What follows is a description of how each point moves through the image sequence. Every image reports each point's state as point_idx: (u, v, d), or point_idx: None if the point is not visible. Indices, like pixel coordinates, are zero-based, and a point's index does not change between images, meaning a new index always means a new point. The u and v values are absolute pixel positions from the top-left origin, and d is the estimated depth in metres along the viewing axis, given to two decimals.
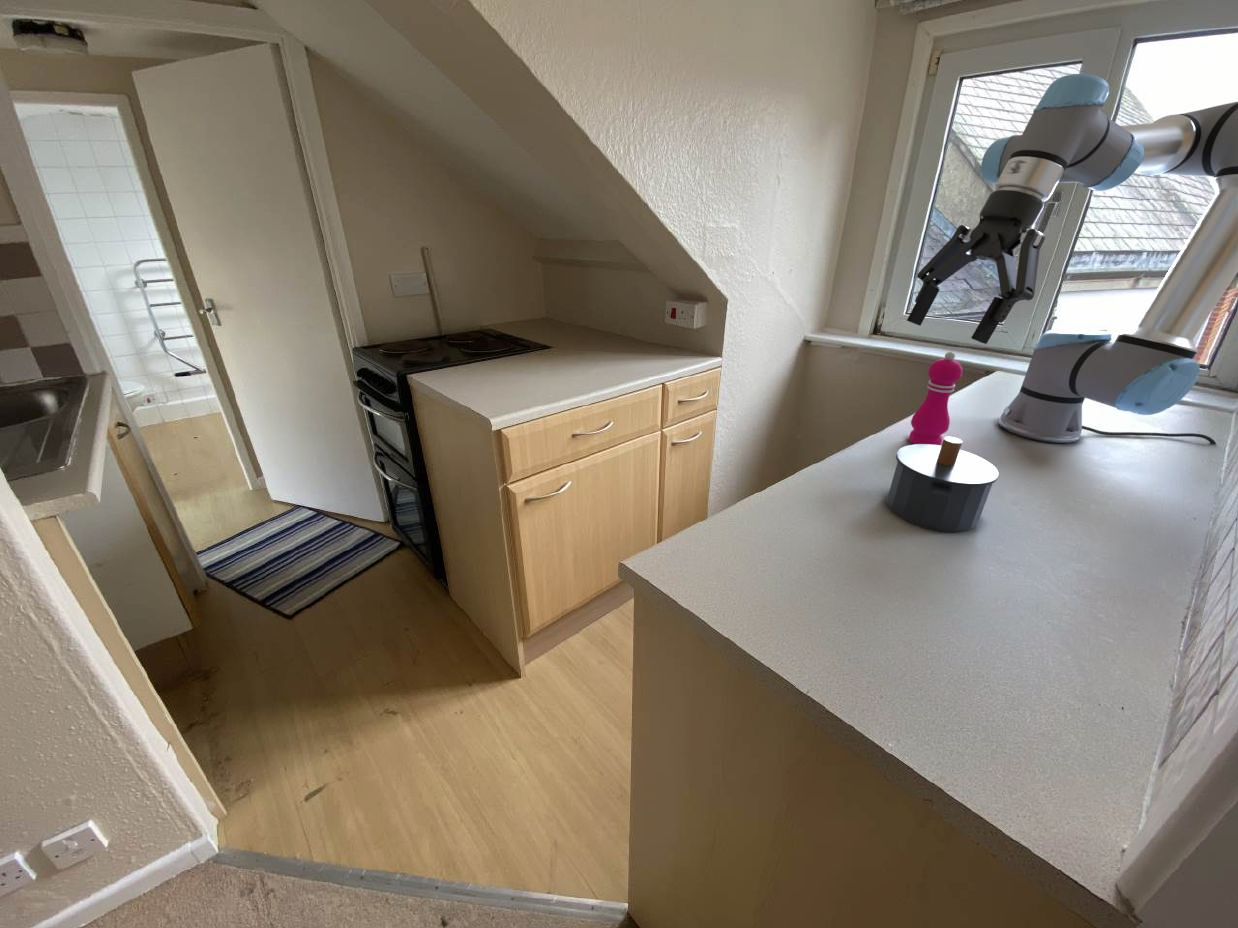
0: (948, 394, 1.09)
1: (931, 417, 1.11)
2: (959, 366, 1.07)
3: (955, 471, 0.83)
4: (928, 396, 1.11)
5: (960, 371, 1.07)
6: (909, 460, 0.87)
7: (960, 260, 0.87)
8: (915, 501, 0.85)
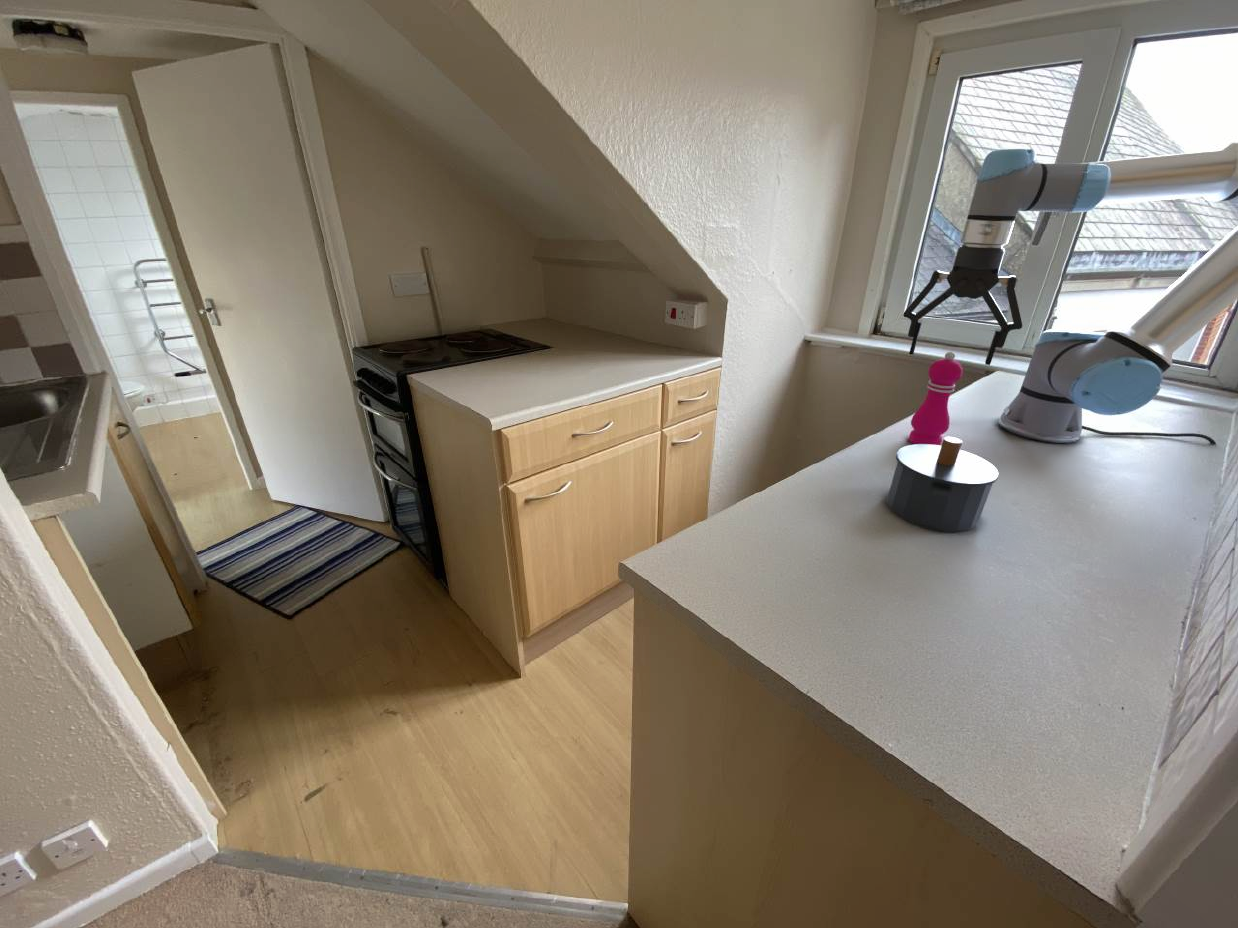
0: (948, 394, 1.09)
1: (931, 417, 1.11)
2: (959, 366, 1.07)
3: (955, 471, 0.83)
4: (928, 396, 1.11)
5: (960, 371, 1.07)
6: (909, 460, 0.87)
7: None
8: (915, 501, 0.85)
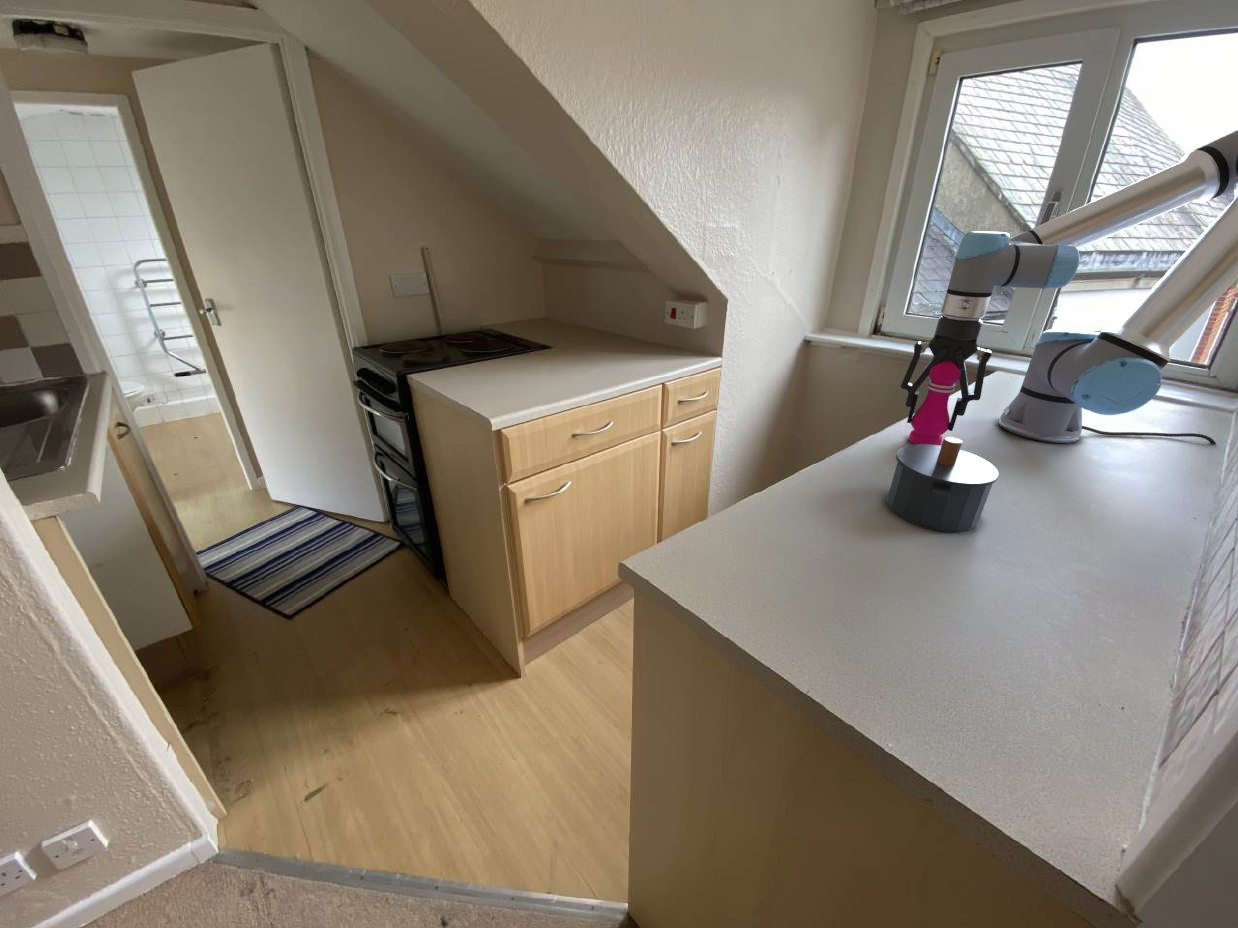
0: (948, 394, 1.09)
1: (931, 417, 1.11)
2: None
3: (955, 471, 0.83)
4: (928, 396, 1.11)
5: (960, 371, 1.06)
6: (909, 460, 0.87)
7: None
8: (915, 501, 0.85)
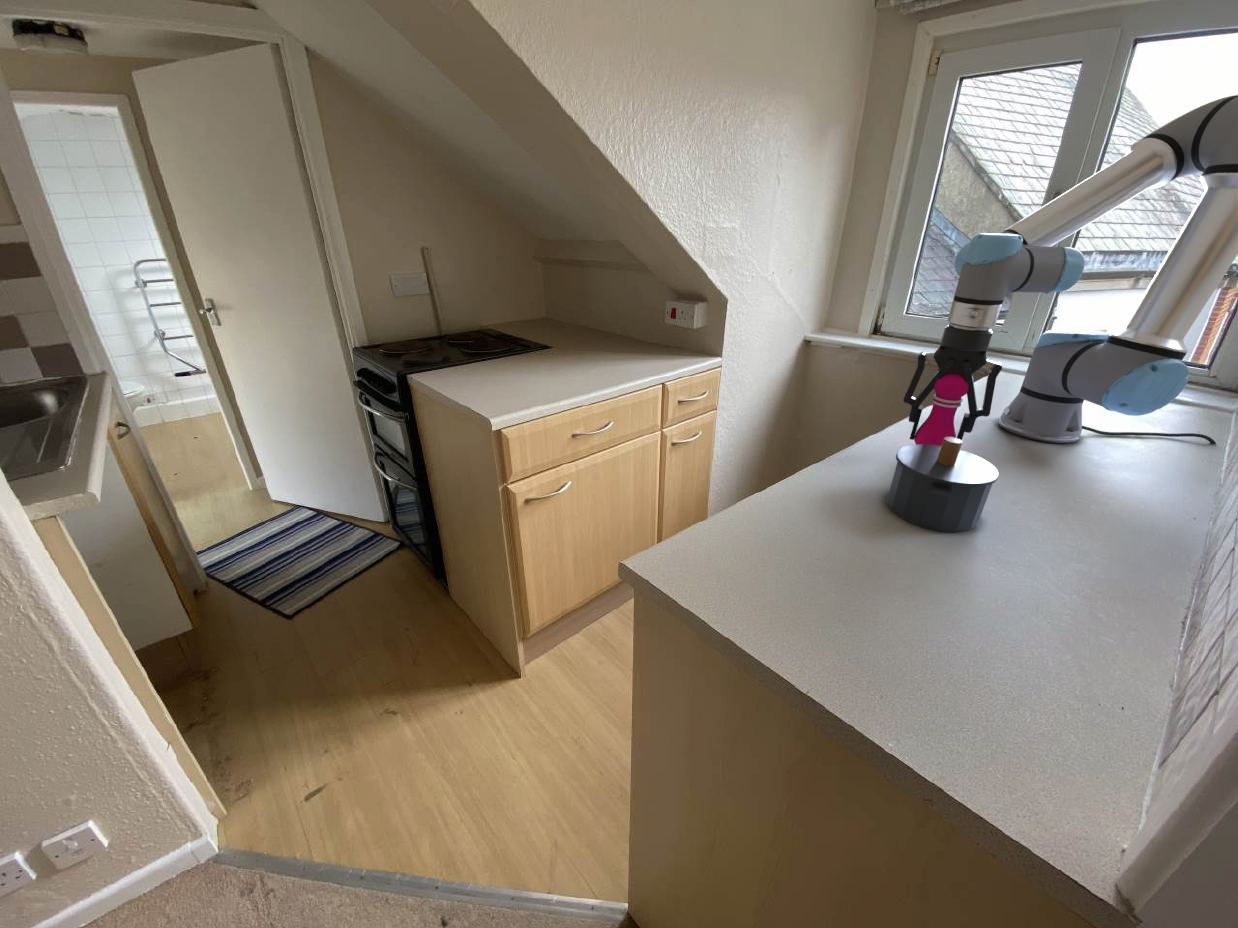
0: (954, 409, 1.01)
1: (936, 434, 1.03)
2: None
3: (955, 471, 0.83)
4: (933, 411, 1.03)
5: (968, 385, 0.98)
6: (909, 460, 0.87)
7: None
8: (915, 501, 0.85)
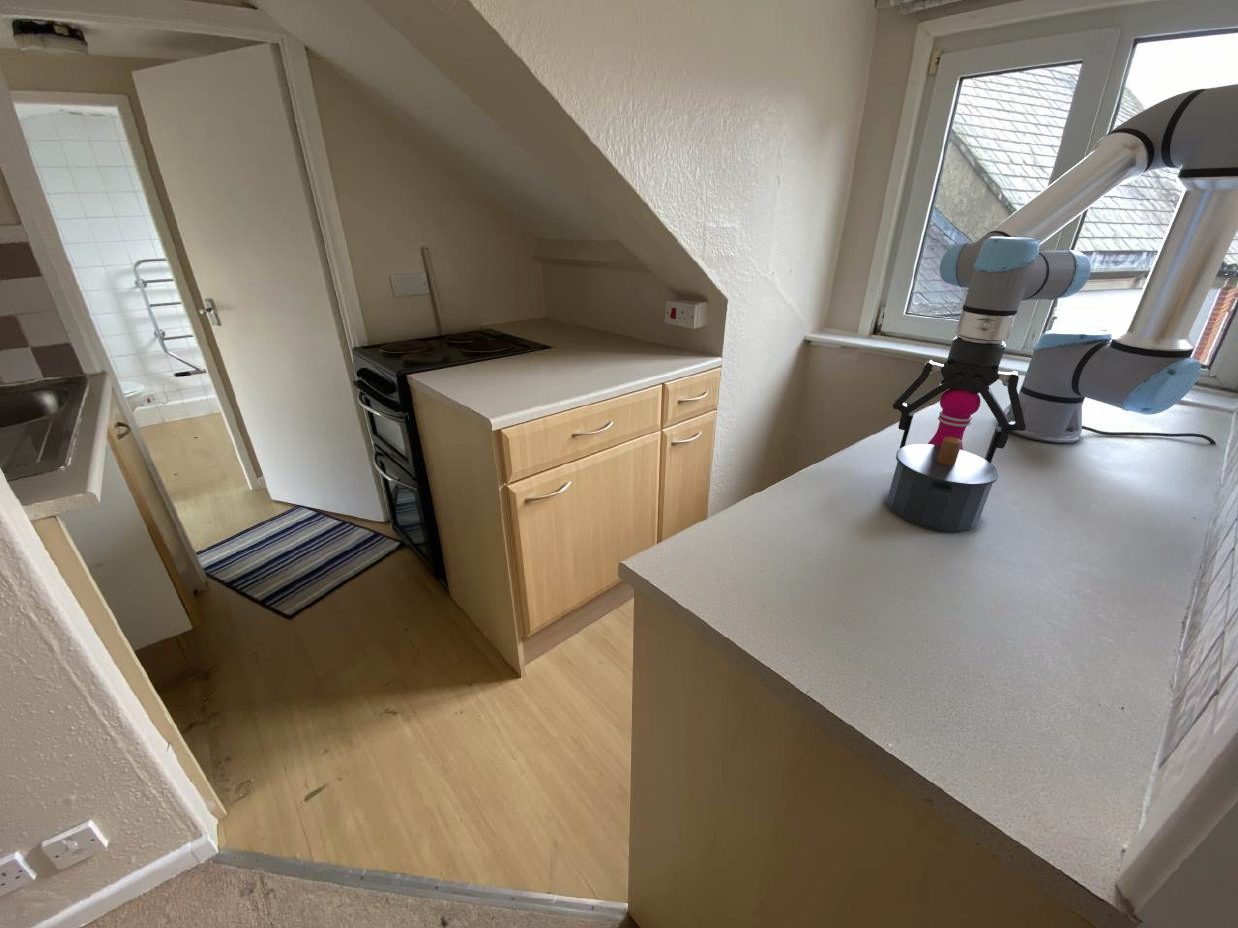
0: (963, 428, 0.93)
1: None
2: (977, 396, 0.90)
3: (955, 471, 0.83)
4: (939, 430, 0.95)
5: (978, 402, 0.90)
6: (909, 460, 0.87)
7: None
8: (915, 501, 0.85)
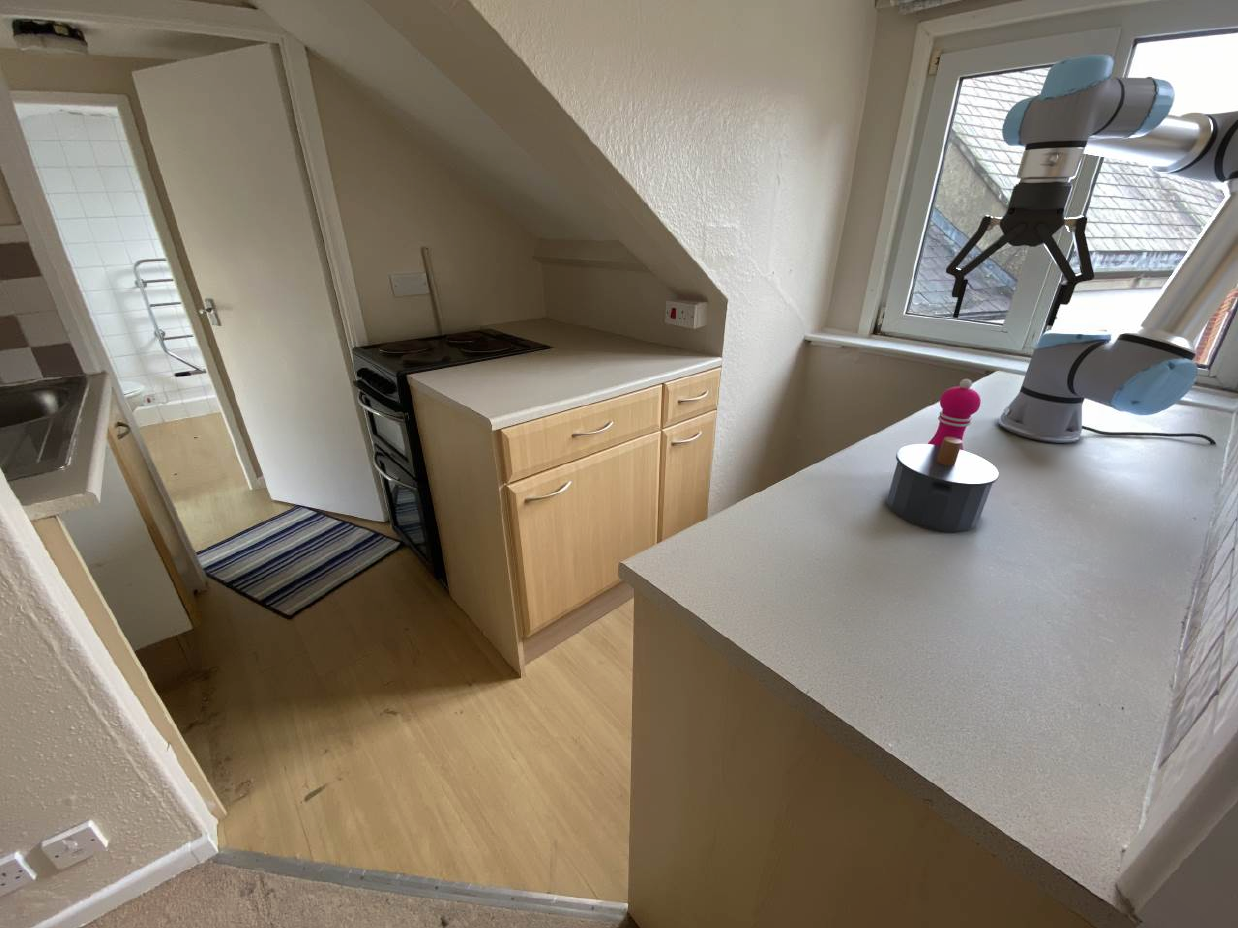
0: (963, 428, 0.93)
1: None
2: (977, 396, 0.90)
3: (955, 471, 0.83)
4: (939, 430, 0.95)
5: (978, 402, 0.90)
6: (909, 460, 0.87)
7: None
8: (915, 501, 0.85)
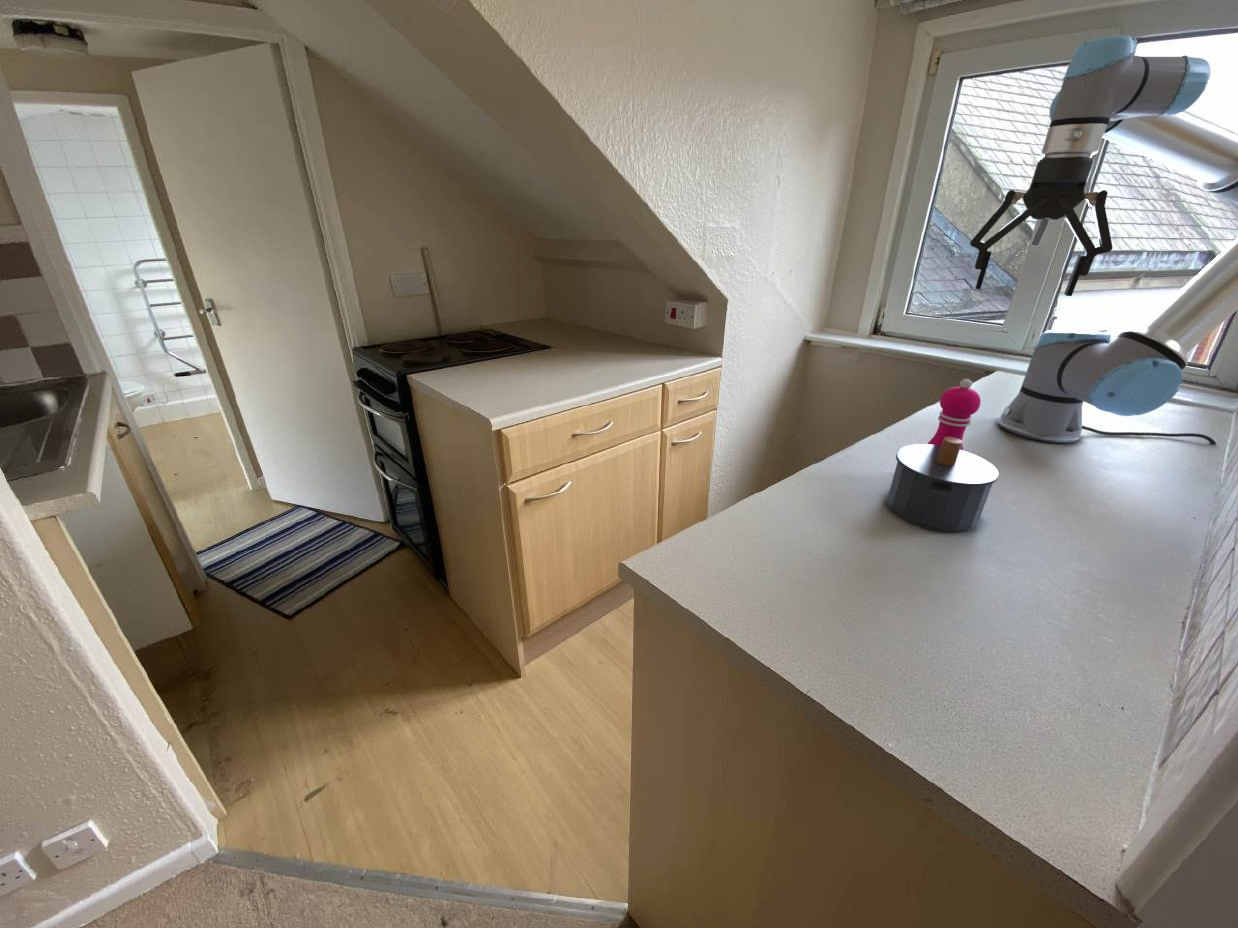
0: (963, 428, 0.93)
1: None
2: (977, 396, 0.90)
3: (955, 471, 0.83)
4: (939, 430, 0.95)
5: (978, 402, 0.90)
6: (909, 460, 0.87)
7: None
8: (915, 501, 0.85)
